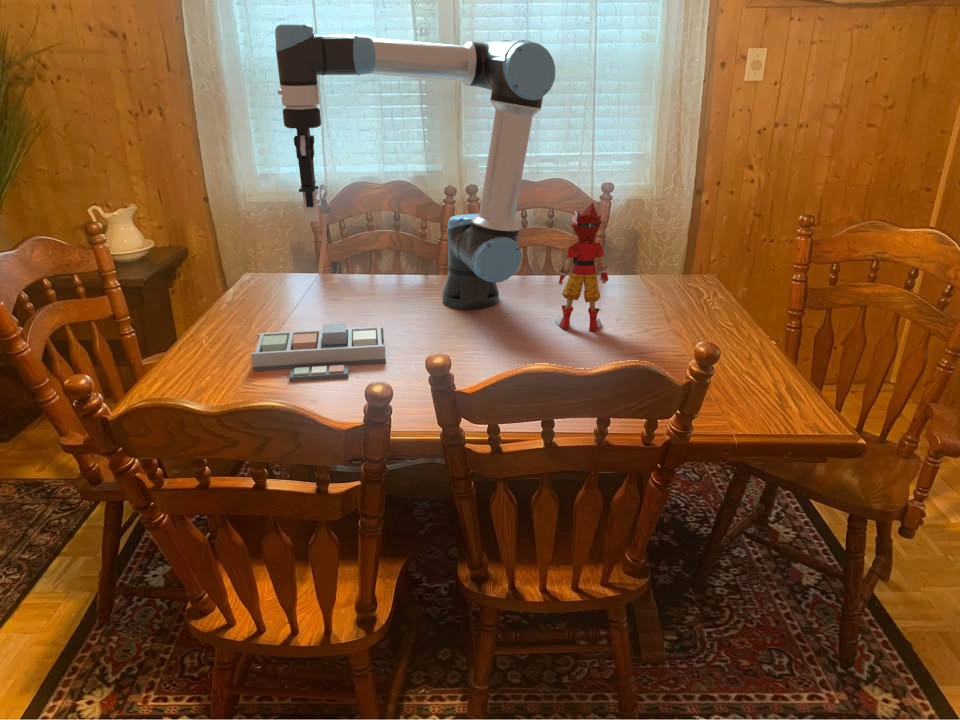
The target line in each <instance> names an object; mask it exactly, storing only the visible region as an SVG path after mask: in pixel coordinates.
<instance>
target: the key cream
mask: <svg viewBox="0 0 960 720" xmlns="http://www.w3.org/2000/svg"><path fill="white" fill-rule="evenodd" d="M353 345H354V346H371V345H376V330H367V331H353Z"/></svg>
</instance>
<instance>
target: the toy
mask: <svg viewBox="0 0 960 720" xmlns="http://www.w3.org/2000/svg"><path fill="white" fill-rule="evenodd" d="M573 211H574V214H575V215H572V218H571V222H572V224H571V227H572V228H573V230H574V232H575V234H576V235H577V242H574V243H573V244H571V245H570V246H568V249H567V255H566V257H567V258H566V260H565V264H564V265H563V266H562V267H561V269H560V271H559V273H560V276H559V280H558V285H560V286H562V284H563V281H564V279H565V277H566V276H567V275H568V274H569V273H570V275H569V276H568V279H567V281H566V284H565V287H564V288H563V291H562V294H561V295H562V296H563V297H564V299H566V303H565V304H566V305H561V310H562V314H559V315H558V316H557V318H556V319H555V320H554V322H555V323H556V324H557V325H558V326H559V327H560V328H561V329H563V330H567V329H568V330H569V329H570V323H571V315H572V313H573V312H574V307H573V305H572V304H573V301H578V300H579V298H580V296H581V293H582V289H583V286H584V290H583V297H584V302H585V303H589V307H588V310H587V311H588V315H589V326H588V327H589V328H588V331H589V332H594V333H596V332H597V331H598V330H599V328H600V327H601V326H602V325H603V323H602V322H601V320H600V318H599V317H598V314H599V312H600V308H599V307H598V308H597V307H596V302H598V301H599V300H600V299H601V293H600V289H599V284H598V283H599V282H598V277H597V272H596V264H595V260H597V263H598V265H599V266H598V267H597V270H598V272H599V273H600V277H599V281H601V284H606V283H607V282H608V281H609V276H608V271H609V267H610V266H609V265H605V261H604V259H603V257H604V256H605V253H604V250H603V248H602V247H603V246H602V245H601V243H600V242H597V241H596V235H597V233H598V231H599V229H600V227H601V224H602V222H603V220H601V219H602V214H600V215H598V213H597V210H596V208H595V205H594V202H591V203H590V205H589V206H588V207H587V208H586V209H585V210H584V211H583V213H582V214H580V212H579V210H577V211H576V210H573ZM572 261H573V265H574V266H573V268H572V271H571V270H570V268H571V265H572Z"/></svg>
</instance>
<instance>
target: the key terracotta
mask: <svg viewBox="0 0 960 720" xmlns="http://www.w3.org/2000/svg"><path fill="white" fill-rule="evenodd" d="M292 345H293V350H303V349H317V346H318V339H317V333H313V334H295V335H294V337H293V342H292Z"/></svg>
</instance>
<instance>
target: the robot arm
mask: <svg viewBox="0 0 960 720" xmlns="http://www.w3.org/2000/svg"><path fill="white" fill-rule="evenodd" d="M274 35H275V37H274V38H275V54H276V61H277V70H278V71H277V72H278V77H279V79H278V80H279V84H280V86H279V87H280V89H278V90H277V94H278V95H279V96H280V95H281V105H283V106H285V107H284V108H283V109H282V119H283V125H284V128H286V129H287V128H288V129H296V135H294V137H293V144H294V146H295V153H296V159H297V161H298V170H299V178H300V184H301V186H300V188H298V192H299V193H302V198H303V199H302V201H303V202H302V203H303V210H304V220H305V223H306V222H307V223H311V222H319V212H318V201H317V190H319V185H316V183H317V181H316V178H315V177H316V176H315V165H314V162H315V161H314V157H315V146H314V144H315V135H313V134H312V135H311V131H310V130H311V129H315V128H316V129H317V128H319V127H320V126H321V125H322V118H321V109H320V108H319V107H318V106H319V105H320V102H321V101H320V90H319V83H318V76H327V75H328V76H337V75H338V76H346V75H347V76H350V75H351V76H353V75H354V76H355V75H357V76H361V75H380V76H393V77H395V76H396V77H405V78H406V77H408V78H420V79H421V78H422V79H433V80H434V79H435V80H446V81H447V80H448V81H461V82H462V83H463V85H465V86H467V87H468V86H469V87H476V88H477V87H478V88H482V89H487V90H490V91H491V94H490V101H489V102H490V103H491V105H492V106H493V108H494V110H495V112H494V118H493V122H492V130H491V136H490V137H491V138H490V143H489V148H488V149H489V150H488V155H487V161H486V169H485V175H484V179H483V180H484V182H483V185H482V186H483V188H482V193H481V201H480V204H479V205H480V207H479V212H478V213H468V214H458V215H452V216H451V217H449V219H448V222H447V229H446V231H447V251H448V252H447V255H448V259H447V260H448V274H447V277H446V280H445V283H444V286H443V289H442V302H443V304H444V305H446V306H448V307H449V308H453V309H458V310H467V311H468V310H469V311H470V310H471V311H473V310H475V311H477V310H483V309H488V308H491V307H494V306H496V305H497V304H498V303H499V302H500V292H499V289H498V286H497V283H502V282H505V281H507V280H508V279H509V278H511V277H513V276H514V275H515V274H516V273H517V272H518V270H519V268H520V265H521V262H522V250H521V247H520V246H519V244H518V236H519V232H520V231H519V230H520V227H519V225H518V223H517V222H516V219H515V217H516V213H517V206H518V202H519V195H520V190H521V185H522V184H521V183H522V178H523V172H524V168H525V166H524V165H525V161H526V156H527V151H528V145H529V138H530V133H531V129H532V128H531V127H532V122H533V118H534V116H535V115H536V114H537V113H538V112H539V111H541V109H542V105H543V99H544V96H546V95H547V93H549V92H550V91H551V89H552V87H553V85H554V82H555V80H556V65H555V62H554V58H553V56H552V55H551V53H550V51H549V50H548V49H547V48H546V47H545V46H544V45H542V44H540V43H538V42H534V41H531V40H523V39H521V40H513V39H505V40H495V41H484V42H483V41H481V42H480V41H478V42H477V41H468V42H466V43H465V44H464V45H458V44H448V43H447V44H446V43H437V42H435V43H434V42H425V41H423V42H422V41H415V40H414V41H413V40H403V39H390V38H379V37H377V38H376V37H371V36H369V35H363V34H357V33H356V34H336V33H326V34H323V35H322V34H320V35H319V34H315V32H314V27H313V26H312V25H311V24H278V25H277V26H276V28H275V30H274Z"/></svg>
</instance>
